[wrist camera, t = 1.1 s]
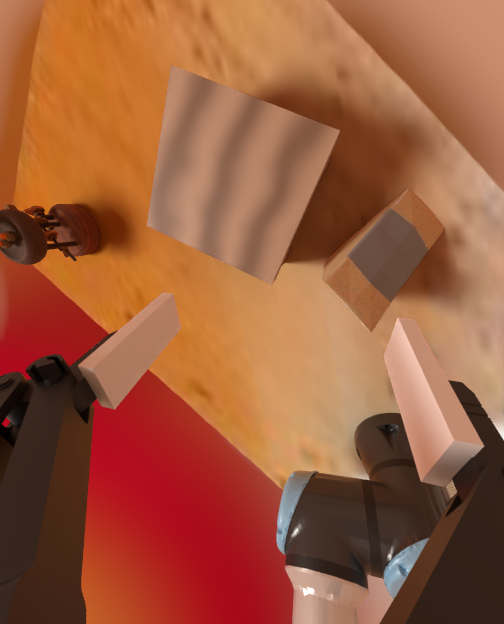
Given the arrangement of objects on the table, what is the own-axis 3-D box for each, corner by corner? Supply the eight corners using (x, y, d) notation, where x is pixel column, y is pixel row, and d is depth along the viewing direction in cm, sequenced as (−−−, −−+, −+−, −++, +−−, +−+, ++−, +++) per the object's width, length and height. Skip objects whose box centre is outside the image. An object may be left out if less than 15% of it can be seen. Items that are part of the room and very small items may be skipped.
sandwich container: (447, 229, 35) (522, 239, 21) (357, 295, 42) (370, 334, 28) (409, 184, 34) (461, 167, 21) (323, 260, 41) (321, 283, 28)
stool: (336, 155, 35) (340, 130, 24) (285, 266, 43) (271, 284, 32) (216, 107, 37) (171, 64, 26) (189, 222, 45) (146, 225, 34)
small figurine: (50, 229, 55) (-81, 228, 37) (67, 188, 51) (-72, 164, 32) (100, 275, 56) (-4, 296, 38) (120, 239, 52) (15, 243, 33)
